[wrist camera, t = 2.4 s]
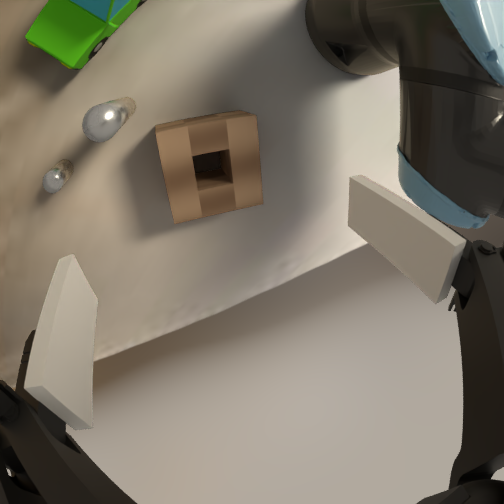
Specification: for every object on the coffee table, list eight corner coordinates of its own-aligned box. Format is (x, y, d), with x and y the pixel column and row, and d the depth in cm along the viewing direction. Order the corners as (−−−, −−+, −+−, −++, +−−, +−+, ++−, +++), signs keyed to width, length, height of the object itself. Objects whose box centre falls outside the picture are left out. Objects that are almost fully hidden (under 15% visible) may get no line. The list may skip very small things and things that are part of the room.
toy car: (31, 40, 18) (-7, 30, 10) (109, -44, 15) (98, -82, 7) (89, 77, 24) (63, 74, 16) (169, -9, 21) (177, -42, 13)
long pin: (113, 100, 26) (79, 110, 14) (134, 94, 27) (115, 99, 14) (117, 119, 28) (86, 146, 15) (137, 114, 28) (122, 135, 15)
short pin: (53, 163, 27) (40, 175, 23) (70, 157, 28) (58, 168, 24) (59, 181, 29) (46, 195, 25) (75, 175, 29) (64, 189, 25)
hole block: (155, 125, 30) (155, 132, 25) (239, 110, 32) (256, 115, 27) (170, 203, 35) (174, 224, 30) (247, 186, 37) (263, 203, 33)
